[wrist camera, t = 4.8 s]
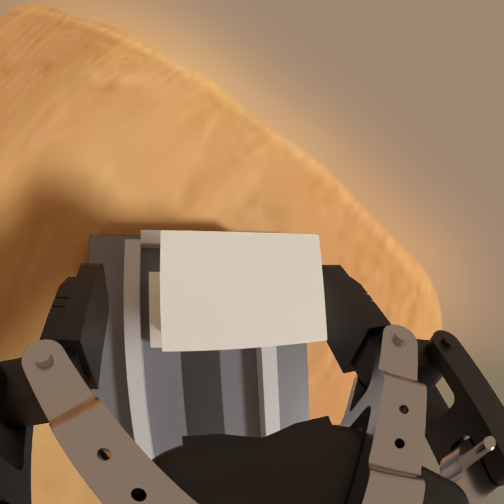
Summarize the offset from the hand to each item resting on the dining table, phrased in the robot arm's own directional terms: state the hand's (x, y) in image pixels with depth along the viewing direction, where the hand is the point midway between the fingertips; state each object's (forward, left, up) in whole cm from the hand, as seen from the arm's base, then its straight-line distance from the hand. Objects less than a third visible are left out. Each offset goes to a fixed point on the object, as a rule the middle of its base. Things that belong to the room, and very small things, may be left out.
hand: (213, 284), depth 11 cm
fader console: (+3, -6, -6) cm, 9 cm away
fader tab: (0, -1, -5) cm, 5 cm away
